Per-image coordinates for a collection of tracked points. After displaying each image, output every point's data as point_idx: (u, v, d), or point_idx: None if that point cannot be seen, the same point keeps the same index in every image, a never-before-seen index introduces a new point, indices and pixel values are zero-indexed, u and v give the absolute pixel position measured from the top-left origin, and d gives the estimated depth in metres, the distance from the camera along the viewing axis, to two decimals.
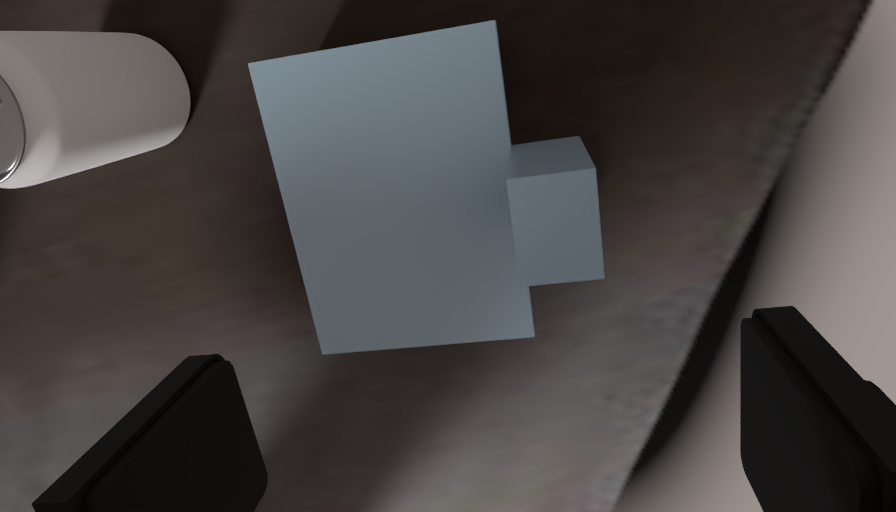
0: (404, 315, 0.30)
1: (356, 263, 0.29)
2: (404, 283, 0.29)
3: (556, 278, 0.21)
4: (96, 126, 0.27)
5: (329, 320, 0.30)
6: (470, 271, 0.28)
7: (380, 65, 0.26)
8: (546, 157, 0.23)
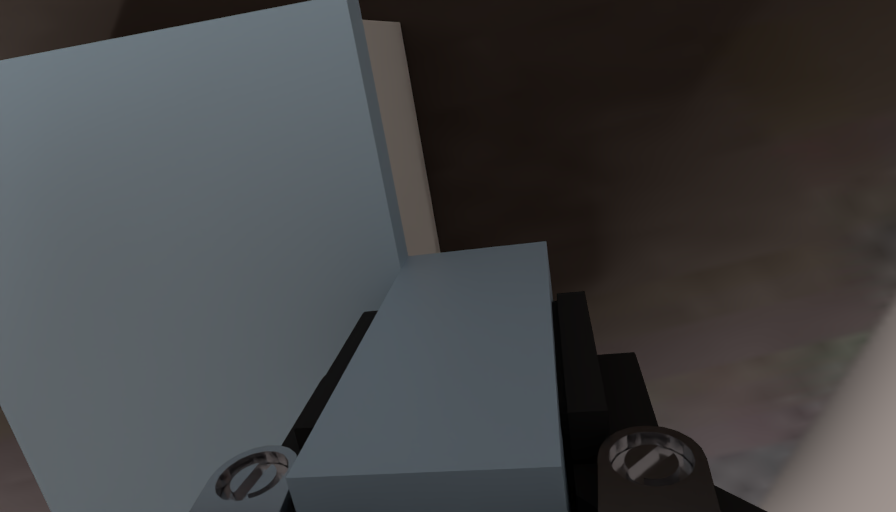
0: None
1: (128, 465, 0.15)
2: None
3: None
4: None
5: None
6: None
7: (112, 95, 0.12)
8: (449, 338, 0.09)
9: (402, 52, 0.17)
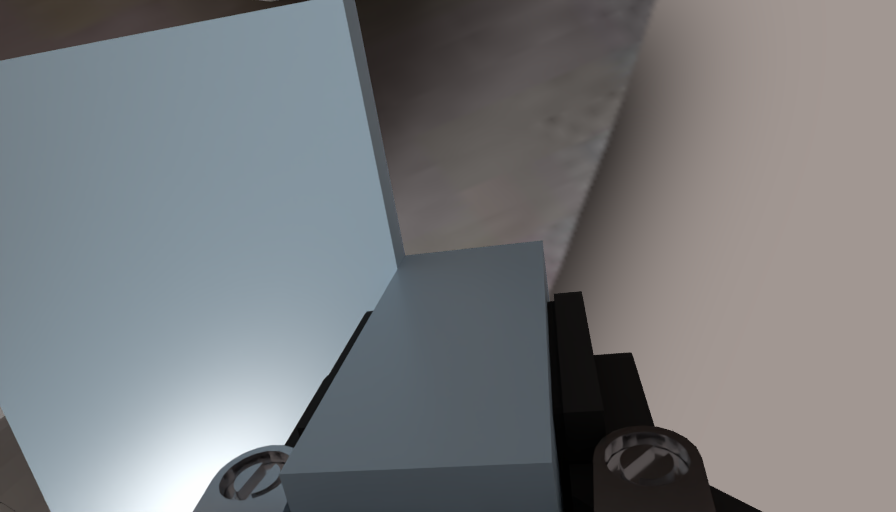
0: None
1: (126, 463, 0.15)
2: None
3: None
4: None
5: None
6: None
7: (111, 95, 0.12)
8: (444, 336, 0.09)
9: None
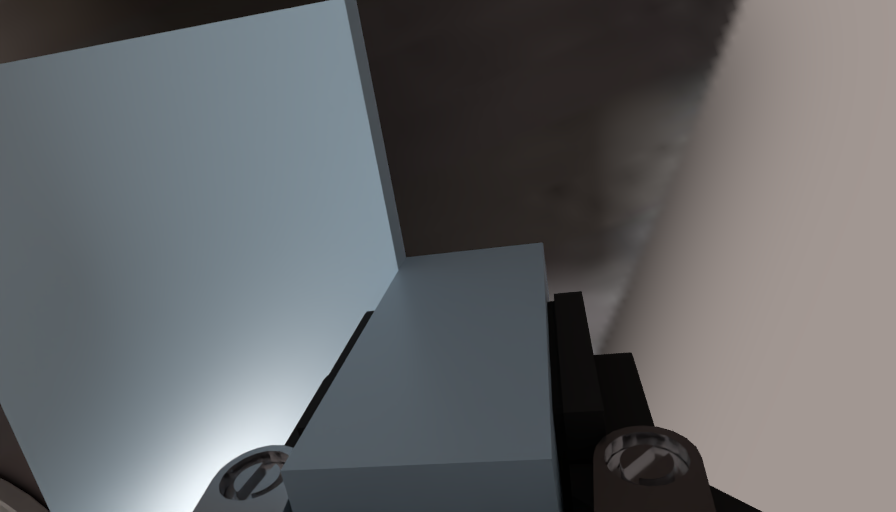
0: None
1: (127, 465, 0.15)
2: None
3: None
4: None
5: None
6: None
7: (114, 97, 0.12)
8: (444, 336, 0.09)
9: None
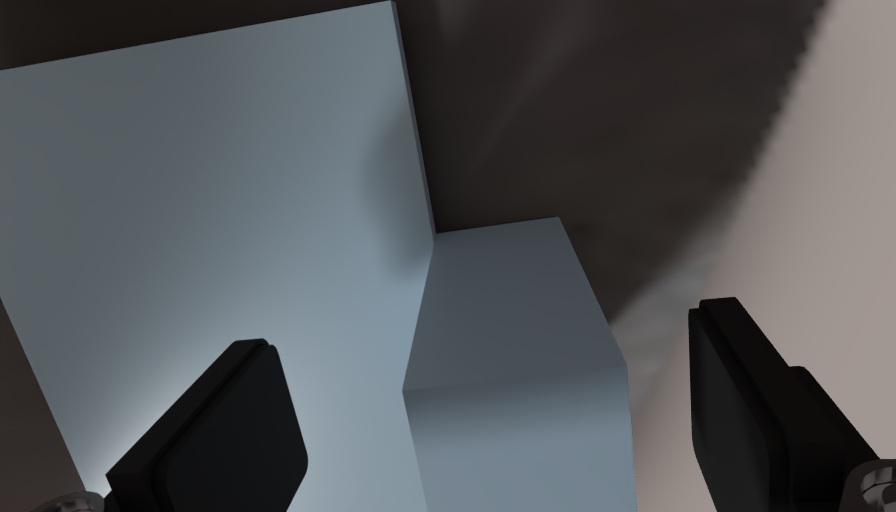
0: None
1: None
2: None
3: None
4: None
5: None
6: (371, 451, 0.16)
7: (170, 90, 0.13)
8: (500, 290, 0.11)
9: None
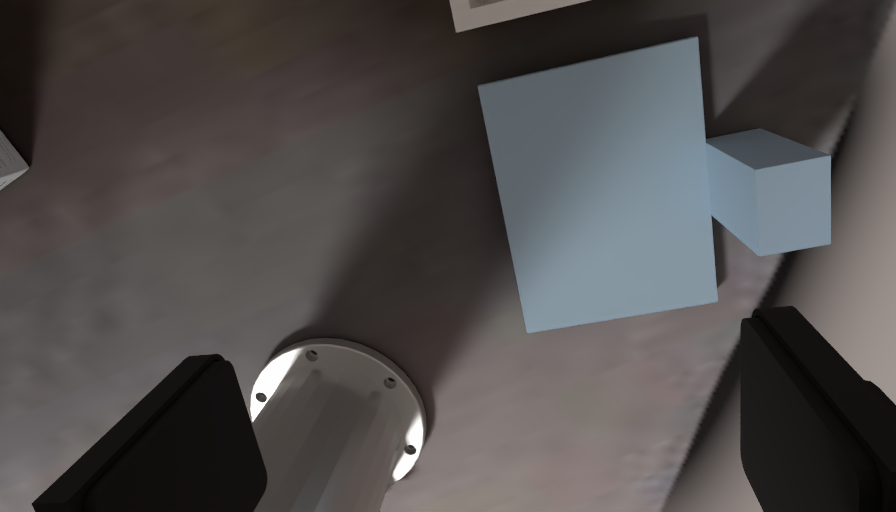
0: (603, 292, 0.34)
1: (563, 251, 0.34)
2: (605, 265, 0.34)
3: (790, 247, 0.26)
4: None
5: (535, 302, 0.35)
6: (664, 250, 0.33)
7: (595, 80, 0.30)
8: (761, 149, 0.28)
9: None
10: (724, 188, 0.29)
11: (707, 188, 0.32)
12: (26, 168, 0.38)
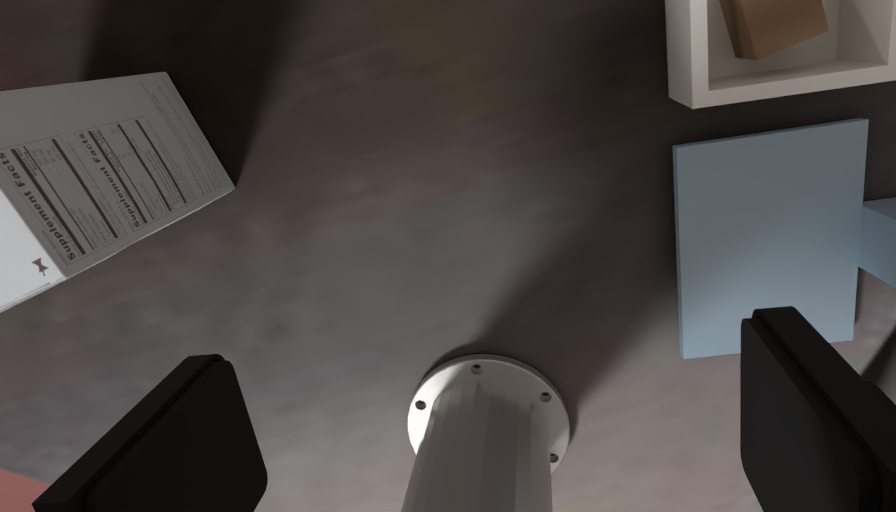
0: None
1: (727, 290, 0.39)
2: (761, 303, 0.39)
3: None
4: None
5: (695, 333, 0.40)
6: (814, 293, 0.39)
7: (777, 149, 0.36)
8: None
9: None
10: (883, 246, 0.35)
11: (858, 244, 0.37)
12: (233, 188, 0.43)
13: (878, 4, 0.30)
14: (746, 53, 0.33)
